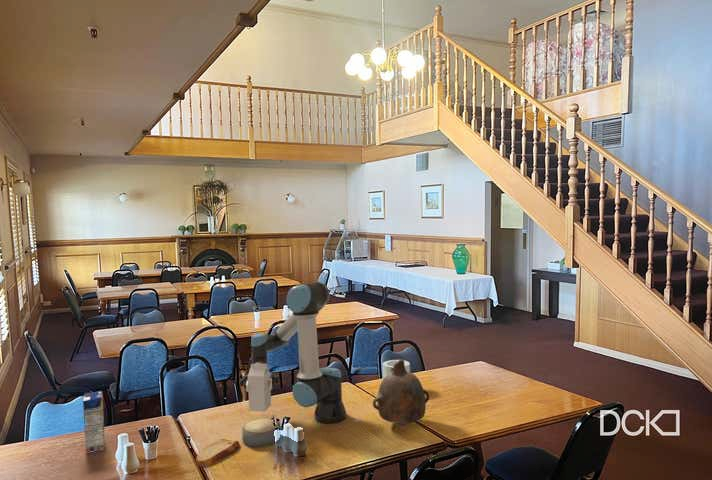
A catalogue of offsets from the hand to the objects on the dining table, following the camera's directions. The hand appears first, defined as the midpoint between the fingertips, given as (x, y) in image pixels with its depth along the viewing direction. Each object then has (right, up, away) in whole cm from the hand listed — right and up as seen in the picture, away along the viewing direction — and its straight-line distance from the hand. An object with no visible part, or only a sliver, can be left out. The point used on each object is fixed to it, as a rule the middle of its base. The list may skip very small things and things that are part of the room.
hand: (259, 387), depth 205 cm
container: (+63, -20, +61) cm, 90 cm away
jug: (+61, -21, +14) cm, 66 cm away
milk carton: (0, -11, +5) cm, 12 cm away
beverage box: (-71, -27, +4) cm, 76 cm away
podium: (0, -24, +5) cm, 24 cm away
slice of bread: (-15, -25, -8) cm, 30 cm away
